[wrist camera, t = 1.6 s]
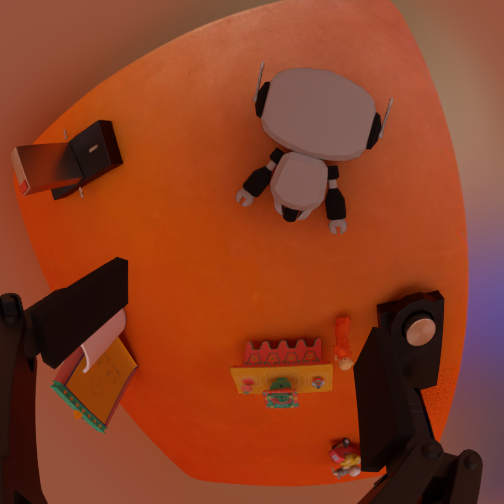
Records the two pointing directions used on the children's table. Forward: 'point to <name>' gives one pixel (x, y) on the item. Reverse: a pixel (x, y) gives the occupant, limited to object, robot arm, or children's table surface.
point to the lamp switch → (419, 328)
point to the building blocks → (245, 375)
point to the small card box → (45, 167)
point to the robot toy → (311, 139)
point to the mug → (103, 338)
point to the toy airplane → (346, 459)
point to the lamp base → (409, 356)
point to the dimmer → (92, 155)
